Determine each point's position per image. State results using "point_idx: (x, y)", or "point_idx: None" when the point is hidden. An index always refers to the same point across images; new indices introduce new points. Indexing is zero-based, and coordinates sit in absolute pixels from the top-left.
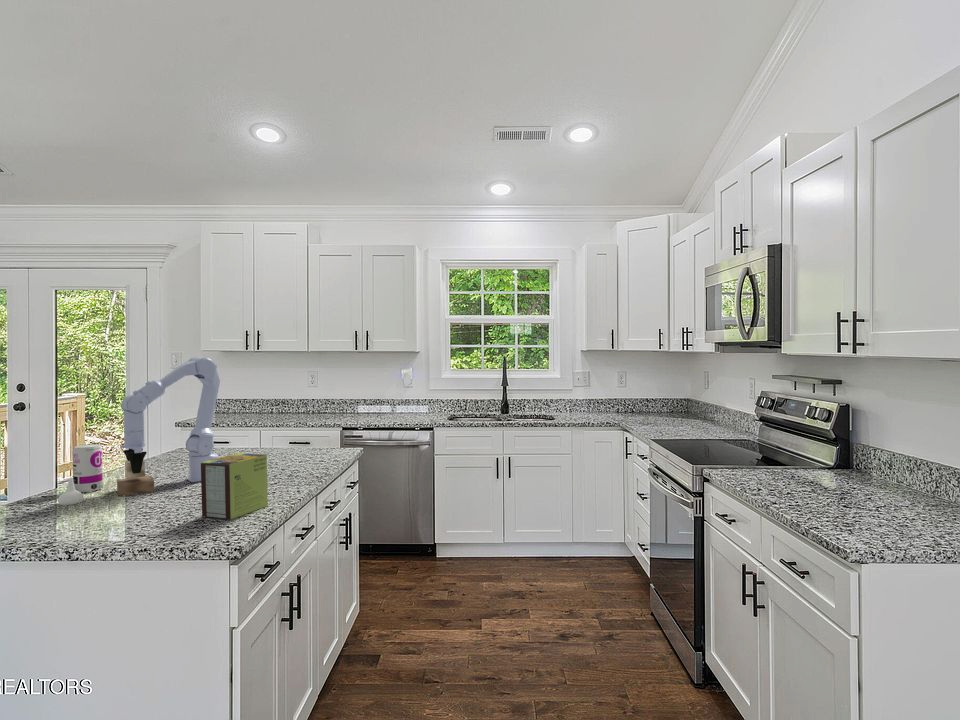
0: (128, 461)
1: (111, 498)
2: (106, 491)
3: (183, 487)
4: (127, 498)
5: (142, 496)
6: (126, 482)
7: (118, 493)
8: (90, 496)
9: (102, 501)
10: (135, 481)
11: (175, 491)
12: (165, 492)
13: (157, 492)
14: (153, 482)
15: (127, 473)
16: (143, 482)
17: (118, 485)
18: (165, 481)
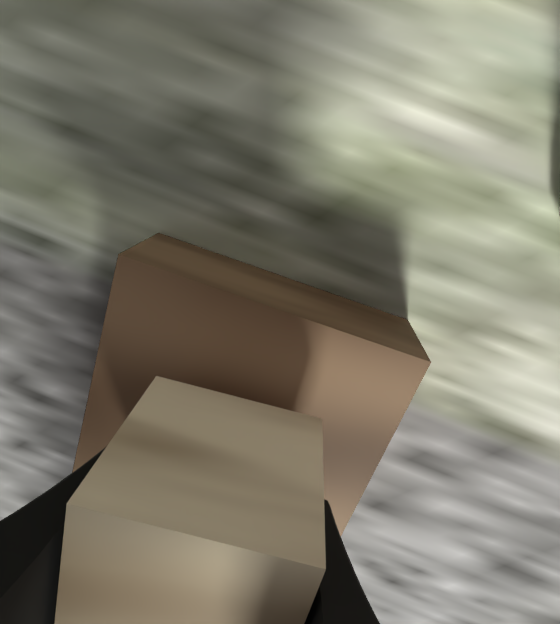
0: (235, 579)
1: (129, 165)
2: (454, 251)
3: None
4: (28, 244)
5: (15, 336)
6: (192, 353)
7: (170, 243)
8: (381, 73)
9: (68, 65)
10: None
11: (9, 508)
12: (27, 467)
13: (68, 442)
14: None
15: (135, 406)
16: (80, 436)
17: (121, 254)
18: (375, 609)
